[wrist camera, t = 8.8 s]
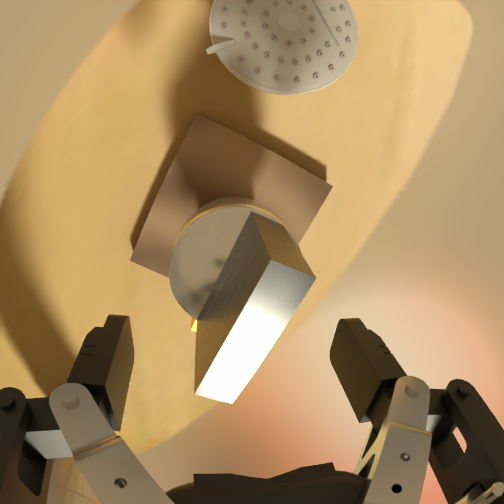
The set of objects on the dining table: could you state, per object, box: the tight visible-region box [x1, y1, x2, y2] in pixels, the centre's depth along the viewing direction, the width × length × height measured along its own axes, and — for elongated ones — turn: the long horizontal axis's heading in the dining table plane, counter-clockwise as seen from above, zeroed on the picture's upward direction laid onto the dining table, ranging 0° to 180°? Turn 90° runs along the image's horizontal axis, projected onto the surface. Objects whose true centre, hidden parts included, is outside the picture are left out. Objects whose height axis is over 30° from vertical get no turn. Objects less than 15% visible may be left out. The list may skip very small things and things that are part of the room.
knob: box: [169, 197, 316, 404], centre depth 16 cm, size 7×8×8 cm
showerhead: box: [206, 0, 359, 95], centre depth 18 cm, size 9×7×10 cm
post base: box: [130, 113, 333, 277], centre depth 23 cm, size 13×12×8 cm
